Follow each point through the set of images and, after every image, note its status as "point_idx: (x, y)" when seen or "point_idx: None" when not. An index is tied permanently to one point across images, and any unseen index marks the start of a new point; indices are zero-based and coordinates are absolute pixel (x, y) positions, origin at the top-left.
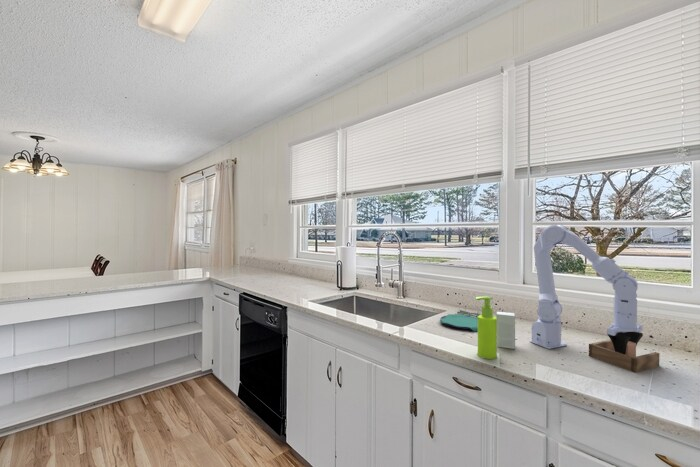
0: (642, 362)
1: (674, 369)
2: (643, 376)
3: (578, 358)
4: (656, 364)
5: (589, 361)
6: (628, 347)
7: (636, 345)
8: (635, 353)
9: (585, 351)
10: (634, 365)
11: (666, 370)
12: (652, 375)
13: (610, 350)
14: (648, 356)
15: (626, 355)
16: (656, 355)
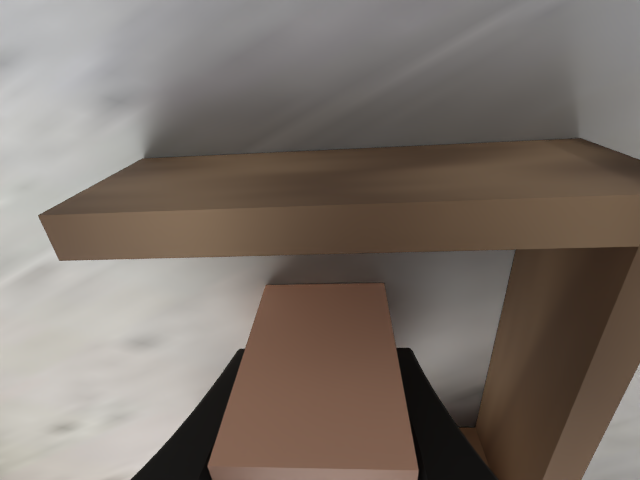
0: (471, 172)
1: (54, 45)
2: (632, 34)
3: (626, 440)
4: (182, 163)
5: (626, 394)
6: (402, 427)
7: (180, 429)
8: (255, 342)
9: None
10: (638, 165)
11: (176, 58)
12: (496, 16)
13: (578, 445)
14: (329, 202)
15: (627, 315)
16: (129, 202)
